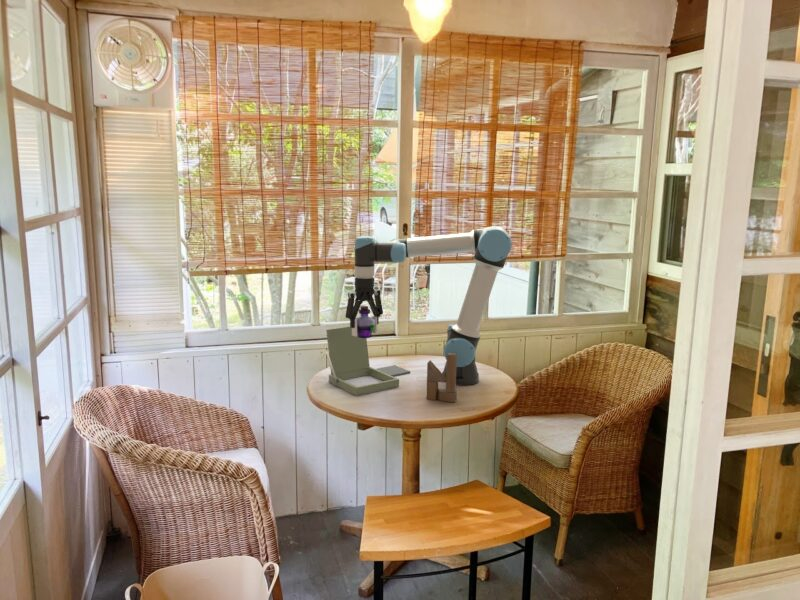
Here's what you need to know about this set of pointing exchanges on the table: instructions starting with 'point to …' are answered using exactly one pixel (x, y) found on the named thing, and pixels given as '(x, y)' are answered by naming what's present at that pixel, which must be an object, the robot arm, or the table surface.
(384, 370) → the pad
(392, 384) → the case
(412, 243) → the robot arm
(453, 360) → the wooden block
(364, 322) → the potion bottle
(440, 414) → the table surface
